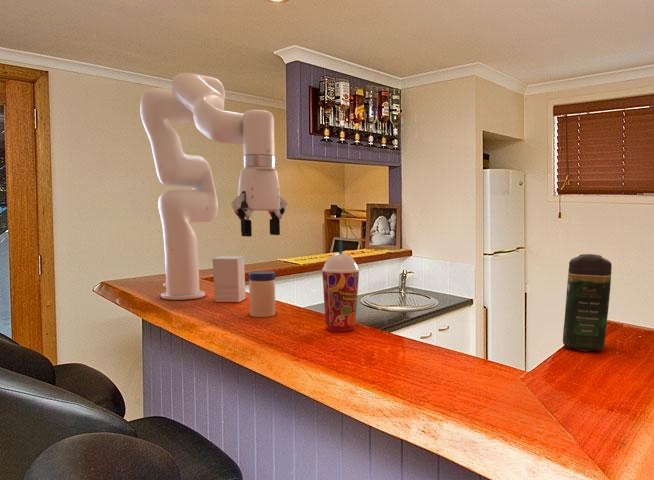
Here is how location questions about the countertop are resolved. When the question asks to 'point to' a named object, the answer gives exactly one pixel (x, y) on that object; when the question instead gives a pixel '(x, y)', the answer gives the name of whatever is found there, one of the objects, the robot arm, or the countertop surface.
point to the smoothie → (340, 291)
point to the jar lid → (261, 275)
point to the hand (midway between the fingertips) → (261, 235)
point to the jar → (262, 298)
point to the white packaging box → (229, 278)
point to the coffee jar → (587, 302)
